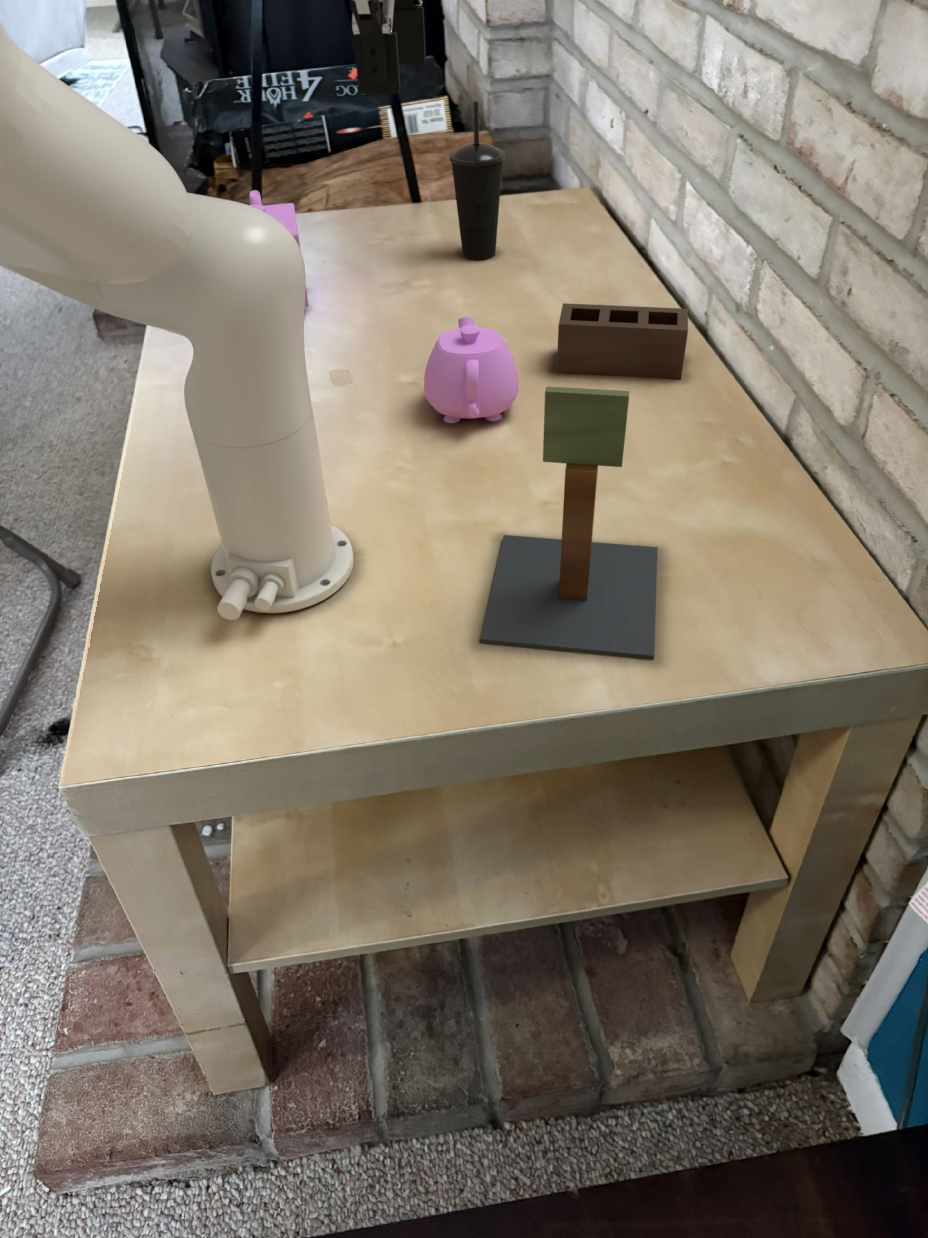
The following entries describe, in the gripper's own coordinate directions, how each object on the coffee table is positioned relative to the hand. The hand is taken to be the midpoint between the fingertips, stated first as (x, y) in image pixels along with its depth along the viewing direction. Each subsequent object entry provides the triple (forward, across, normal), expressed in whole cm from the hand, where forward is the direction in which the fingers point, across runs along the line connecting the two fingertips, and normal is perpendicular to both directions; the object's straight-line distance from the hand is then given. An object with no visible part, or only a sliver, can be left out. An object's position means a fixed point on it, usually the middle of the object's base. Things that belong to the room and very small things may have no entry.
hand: (394, 77), depth 74 cm
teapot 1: (+34, -34, -28) cm, 56 cm away
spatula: (+34, +22, +18) cm, 44 cm away
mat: (+34, +22, +18) cm, 45 cm away
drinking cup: (+34, -52, -2) cm, 62 cm away
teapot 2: (+34, -9, +4) cm, 36 cm away
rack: (+34, -20, +20) cm, 44 cm away
